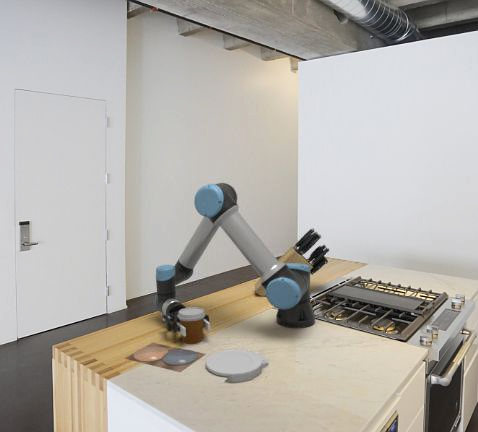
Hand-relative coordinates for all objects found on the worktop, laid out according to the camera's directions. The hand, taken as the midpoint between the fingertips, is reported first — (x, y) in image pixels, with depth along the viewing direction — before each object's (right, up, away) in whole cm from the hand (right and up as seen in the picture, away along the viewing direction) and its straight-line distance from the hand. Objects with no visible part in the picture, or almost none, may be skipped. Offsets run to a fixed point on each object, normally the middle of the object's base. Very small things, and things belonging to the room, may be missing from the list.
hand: (197, 329), depth 148 cm
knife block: (+39, +1, +64) cm, 75 cm away
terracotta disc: (-14, -6, -6) cm, 17 cm away
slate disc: (-5, -7, -9) cm, 12 cm away
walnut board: (-9, -8, -7) cm, 14 cm away
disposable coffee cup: (-2, -7, +5) cm, 8 cm away
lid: (+14, -9, -14) cm, 21 cm away
